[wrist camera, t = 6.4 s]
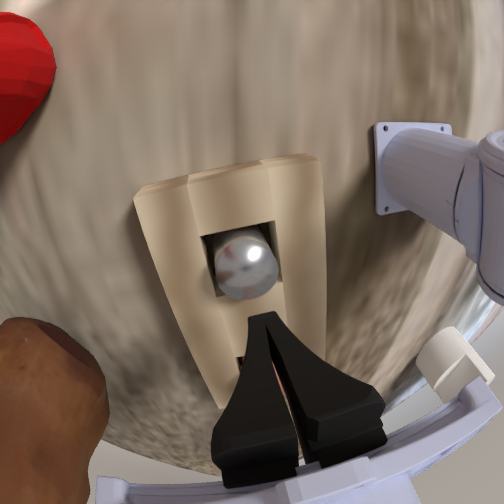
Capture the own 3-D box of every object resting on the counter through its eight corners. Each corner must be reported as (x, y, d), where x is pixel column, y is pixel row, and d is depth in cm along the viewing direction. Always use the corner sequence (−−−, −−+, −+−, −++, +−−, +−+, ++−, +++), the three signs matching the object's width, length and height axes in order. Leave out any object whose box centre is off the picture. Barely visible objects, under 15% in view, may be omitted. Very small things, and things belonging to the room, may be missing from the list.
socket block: (304, 153, 20) (320, 160, 17) (315, 365, 31) (323, 384, 29) (142, 186, 19) (132, 198, 16) (216, 388, 30) (219, 409, 28)
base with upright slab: (437, 362, 40) (470, 408, 29) (406, 370, 38) (440, 425, 27) (463, 324, 36) (503, 370, 25) (434, 328, 34) (479, 384, 23)
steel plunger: (260, 214, 21) (274, 240, 17) (267, 260, 23) (281, 292, 19) (207, 225, 21) (209, 254, 17) (218, 271, 23) (223, 305, 19)
